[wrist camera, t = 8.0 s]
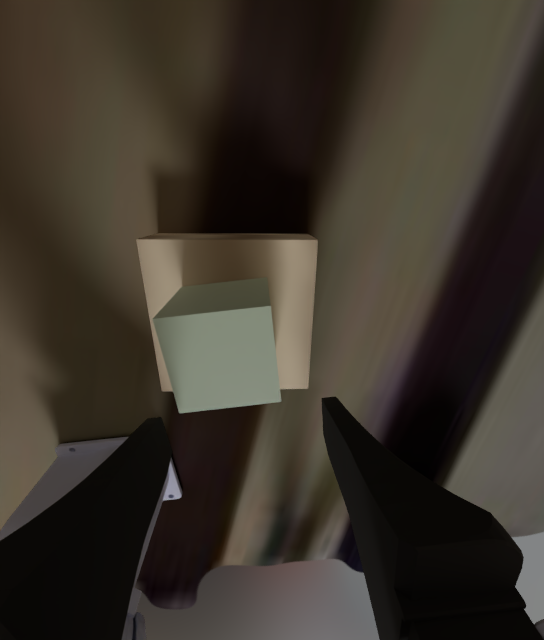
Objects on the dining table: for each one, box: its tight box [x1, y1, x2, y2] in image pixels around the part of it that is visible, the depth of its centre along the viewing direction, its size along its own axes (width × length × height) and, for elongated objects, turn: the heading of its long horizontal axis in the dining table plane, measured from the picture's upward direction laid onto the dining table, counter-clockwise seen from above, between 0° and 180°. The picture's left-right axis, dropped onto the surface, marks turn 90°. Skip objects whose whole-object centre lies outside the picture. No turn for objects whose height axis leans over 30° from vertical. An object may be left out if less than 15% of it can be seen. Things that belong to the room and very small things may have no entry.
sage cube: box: [153, 277, 281, 413], centre depth 15 cm, size 5×5×5 cm
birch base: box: [136, 233, 318, 391], centre depth 19 cm, size 10×10×4 cm
